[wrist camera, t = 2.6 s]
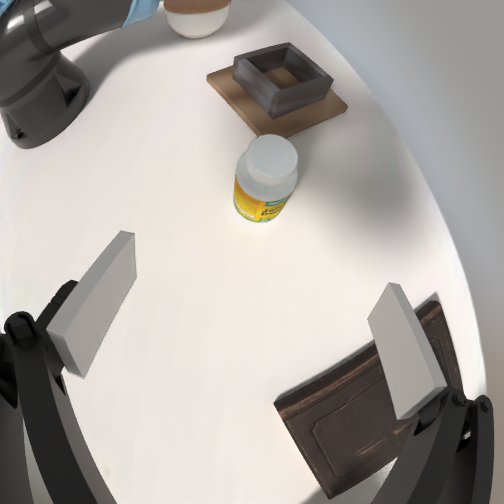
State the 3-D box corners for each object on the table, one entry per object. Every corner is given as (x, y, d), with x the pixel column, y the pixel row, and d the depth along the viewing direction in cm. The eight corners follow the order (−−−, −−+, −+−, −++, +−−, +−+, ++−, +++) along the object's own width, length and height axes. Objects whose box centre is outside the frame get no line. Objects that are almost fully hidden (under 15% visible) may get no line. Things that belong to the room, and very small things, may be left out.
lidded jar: (156, 32, 35) (150, -8, 25) (204, 13, 37) (205, -24, 28) (189, 53, 34) (187, 6, 25) (241, 32, 36) (246, -10, 27)
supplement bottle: (257, 170, 30) (272, 116, 21) (292, 203, 30) (321, 158, 20) (221, 199, 29) (223, 151, 20) (257, 235, 29) (275, 199, 19)
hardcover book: (454, 393, 28) (464, 395, 25) (323, 491, 23) (329, 500, 21) (427, 300, 30) (439, 299, 28) (271, 401, 26) (276, 408, 23)
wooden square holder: (206, 80, 32) (206, 53, 27) (284, 55, 35) (290, 31, 30) (267, 147, 31) (275, 121, 26) (345, 111, 34) (359, 88, 29)
